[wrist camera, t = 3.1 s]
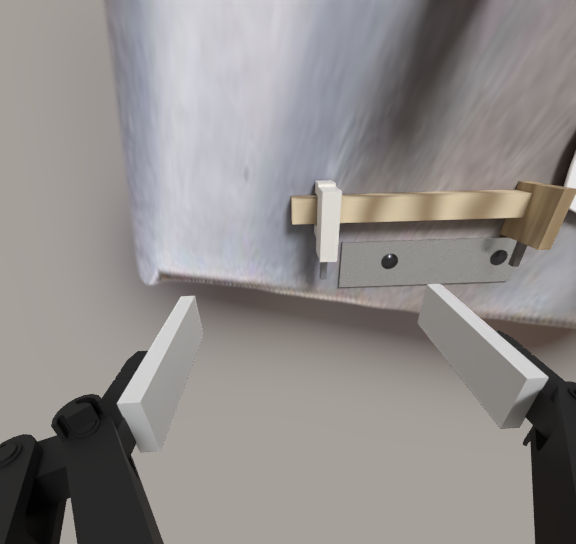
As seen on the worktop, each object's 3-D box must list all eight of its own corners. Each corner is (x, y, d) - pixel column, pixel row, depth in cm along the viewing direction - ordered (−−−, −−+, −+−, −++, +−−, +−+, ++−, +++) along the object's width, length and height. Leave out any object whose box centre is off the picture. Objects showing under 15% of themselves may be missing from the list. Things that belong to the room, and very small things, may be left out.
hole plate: (342, 242, 36) (342, 243, 36) (524, 236, 37) (527, 237, 37) (338, 285, 40) (339, 287, 39) (506, 279, 40) (509, 281, 40)
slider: (313, 269, 38) (318, 290, 32) (315, 180, 32) (322, 188, 27) (326, 268, 38) (334, 289, 32) (331, 180, 32) (342, 188, 27)
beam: (291, 263, 38) (294, 284, 32) (290, 187, 33) (293, 197, 27) (509, 256, 38) (547, 274, 33) (539, 180, 34) (589, 188, 28)
